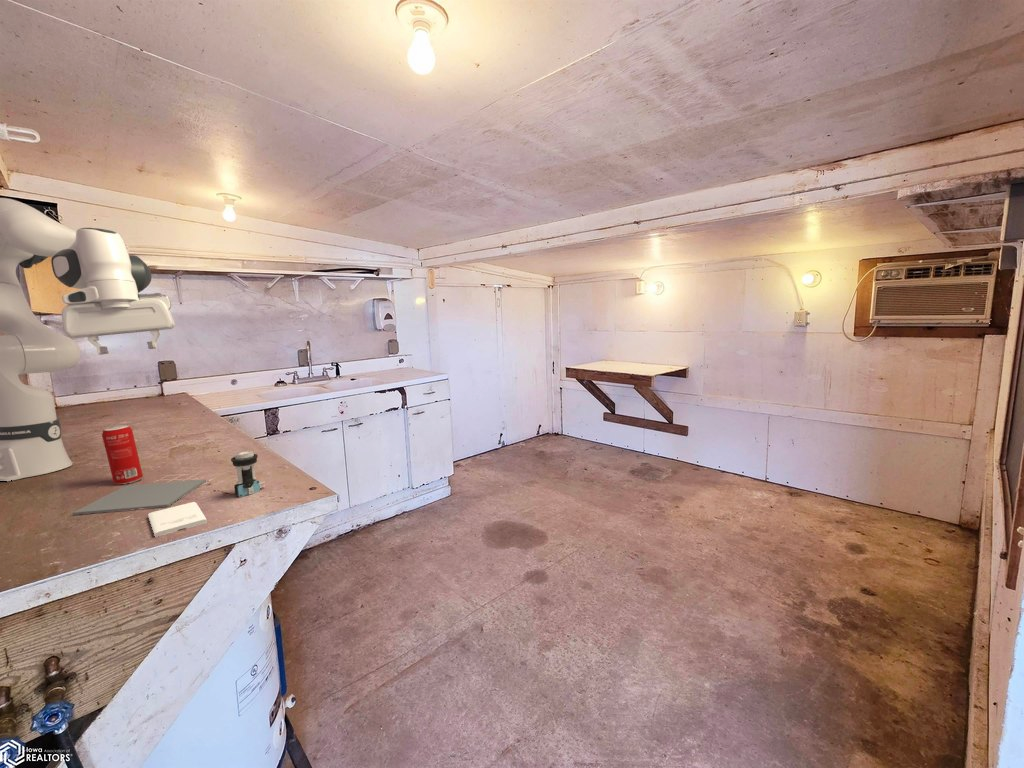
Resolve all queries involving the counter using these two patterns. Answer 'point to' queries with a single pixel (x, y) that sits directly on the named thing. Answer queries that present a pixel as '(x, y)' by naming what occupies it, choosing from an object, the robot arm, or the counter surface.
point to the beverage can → (122, 454)
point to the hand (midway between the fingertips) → (128, 351)
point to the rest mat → (141, 496)
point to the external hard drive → (176, 518)
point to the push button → (246, 473)
